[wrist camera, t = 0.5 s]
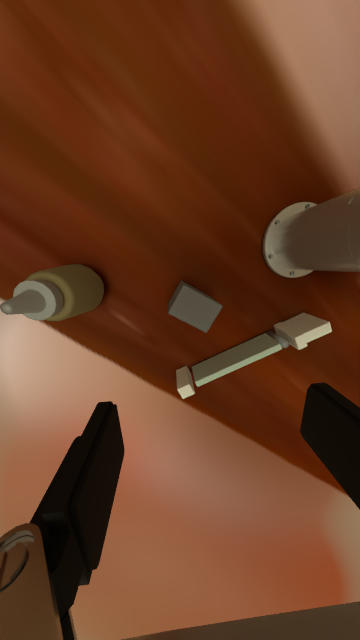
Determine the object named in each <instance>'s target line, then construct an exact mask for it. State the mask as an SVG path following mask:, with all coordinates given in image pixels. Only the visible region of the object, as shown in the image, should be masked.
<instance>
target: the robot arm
mask: <svg viewBox="0 0 360 640" xmlns="http://www.w3.org/2000/svg"><path fill="white" fill-rule="evenodd" d="M262 250H263V256H264V260H265V262H266V264H267V266H268V267H269V268H270V269H271V270H272V271H273V272H274V273H276V274H278V275H280V276H283V277H288V278H296V277H301V276H305V275H307V274H309V273H311V272H312V271H314V270H321V271H345V272H360V188H358V189H355V190H353V191H350V192H348V193H345V194H343V195H340V196H338V197H335V198H333V199H331V200H328V201H326V202H323V203H321V204H318V205H317V204H315V203H311V202H300V203H295V204H293V205H290V206H288V207H286V208H284V209H283V210H282V211H280V212H279V213H278V214H277V215H276V216H275V217H274V218H273V219H272V220H271V222H270V223H269V225H268V227H267V229H266V231H265V234H264V238H263V244H262ZM268 255H269V257H268ZM300 431H301V435H302V437H303V438H304V440H305V441H306V442H307V443H308V445H309V446H310V447H311V448H312V450H313V451H314V452H315V454H316V455H317V456H318V457H319V459H320V460H321V461H322V462H323V464H324V465H325V466H326V467H327V469H328V470H329V471H330V473H331V474H332V475H333V476H334V478H335V479H336V480H337V481H338V483H339V484H340V485H341V486H342V488H343V489H344V490H345V492H346V493H347V494H348V495H349V497H350V498H351V499H352V500H353V502H354V503H355V504H356V505H357V507H358V508H359V509H360V408H359V407H358V406H356V405H355V404H354V403H352V402H351V401H350V400H348V399H347V398H346V397H344V396H343V395H342V394H340V393H339V392H338V391H336V390H335V389H333V388H332V387H331V386H329V385H328V384H326V383H315V384H311V385H310V387H309V388H308V389H307V395H306V400H305V406H304V412H303V417H302V423H301V429H300ZM123 457H124V444H123V438H122V433H121V428H120V422H119V416H118V411H117V406H116V404H114V405H113V403H112V402H110V401H109V402H99V403H98V404H97V406H96V408H95V410H94V412H93V414H92V416H91V418H90V420H89V422H88V424H87V426H86V427H85V429H84V431H83V433H82V435H81V436H78V437H77V438H75V440H74V441H73V443H72V445H71V446H70V448H69V450H68V452H67V454H66V456H65V458H64V460H63V461H62V464H61V465H60V467H59V469H58V471H57V473H56V474H55V476H54V478H53V480H52V482H51V484H50V486H49V487H48V489H47V491H46V493H45V495H44V497H43V499H42V501H41V502H40V504H39V506H38V508H37V510H36V512H35V514H34V516H33V517H32V520H31V521H30V523H25V524H22V525H19V526H16V527H15V528H13V529H11V530H10V531H8V532H7V533H5V534H4V535H3V536H2V537H1V538H0V640H77V637H76V632H75V628H74V623H73V618H72V614H71V609H70V607H71V606H72V605H73V604H74V600H75V597H76V593H77V590H78V586H80V585H88V584H89V582H90V577H91V574H92V570H94V569H97V566H98V565H99V561H100V557H101V553H102V548H103V544H104V540H105V536H106V531H107V527H108V522H109V518H110V514H111V509H112V505H113V501H114V496H115V491H116V487H117V483H118V479H119V474H120V469H121V465H122V461H123ZM122 640H360V602H353V603H346V604H340V605H333V606H327V607H320V608H313V609H307V610H300V611H293V612H286V613H280V614H273V615H266V616H260V617H254V618H247V619H241V620H235V621H228V622H222V623H216V624H209V625H203V626H196V627H190V628H184V629H177V630H171V631H165V632H160V633H154V634H149V635H143V636H139V637H133V638H128V639H122Z"/></svg>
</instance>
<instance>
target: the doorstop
mask: <svg viewBox="0 0 360 640" xmlns="http://www.w3.org/2000/svg"><path fill="white" fill-rule="evenodd" d="M222 307H223V306H222V305H221V304H219V303H218V302H217V301H216V300H214V299H213V298H212V297H210V296H208V295H207V294H205V293H203V292H201V291H199V290H198V289H196V288H194V287H192V286H190V285H189V284H187V283H185V282H183V281H180V283H179V285H178V286H177V288H176V290H175V292H174V294H173V296H172V298H171V299H170V301H169V306H168V313H169V314H171V315H173V316H174V317H176V318H178V319H180V320H182V321H184V322H186V323H188V324H190V325H192V326H194V327H196V328H198V329H200V330H202V331H204V332H206V333H207V331H208V329H209V328H210V326H211V325H212V323H213V321H214V320H215V318H216V317H217V315H218V313H219V312H220V310H221V309H222Z"/></svg>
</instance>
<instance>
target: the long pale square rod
mask: <svg viewBox="0 0 360 640" xmlns="http://www.w3.org/2000/svg"><path fill="white" fill-rule="evenodd" d="M288 346H289V342H288V341H286V340H285V339H283V338H282V337H280V336H279V335H277V334H276V333H274V332H273V331H268V332H267V334H266V333H264V334H262V335H260V336H257V337H255V338H253V339H251V340H249V341H247V342H244V343H242V344H240V345H238V346H236V347H233V348H231V349H229V350H227V351H225V352H223V353H220V354H218V355H216V356H214V357H212V358H210V359H207V360H205V361H203V362H201V363H199V364H196V365H194V366H192V370H193V375H194V380H195V383H196V385H197V387H198V386H201V385H203V384H205V383H207V382H210V381H212V380H214V379H216V378H218V377H221V376H223V375H225V374H227V373H230V372H232V371H234V370H236V369H239V368H241V367H243V366H245V365H247V364H250V363H252V362H254V361H256V360H259V359H261V358H263V357H265V356H268V355H270V354H272V353H274V352H277V351H279V350H281V349H282V347H283V348H287V347H288Z"/></svg>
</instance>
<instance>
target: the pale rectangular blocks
mask: <svg viewBox="0 0 360 640" xmlns="http://www.w3.org/2000/svg"><path fill="white" fill-rule="evenodd" d="M273 326H274V328H275V331H276V334H277V335H279V336H280V337H282V338H283V339H285V340H286V341H288V342H289V344H291V345H292V346H294V347H295V348H297V349H298V350H300V349H302V348H304V347H307V342H310V341H312V340H314V339H316V338H319V337H321V336H323V335H325V334H328V333H330V332H332V330H331V326H330V322H328V321H325V320H323V319H320V318H317V317H314V316H312V315H309V314H306V313H302V314H299V315H297V316H295V317H293V318H291V319H289V320H286V321H284V322H279V323H277V324H275V325H273ZM176 375H177V390H178V392H179V393H180V395H181V397H182V398H183V399H184V398H186V397H188V396H191V395H193V394H195V393H194V387H193V382H192V377H191V373H190V371H189V369H188V368H187V366H185V367H182V368H180V369H178V370H176Z"/></svg>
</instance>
